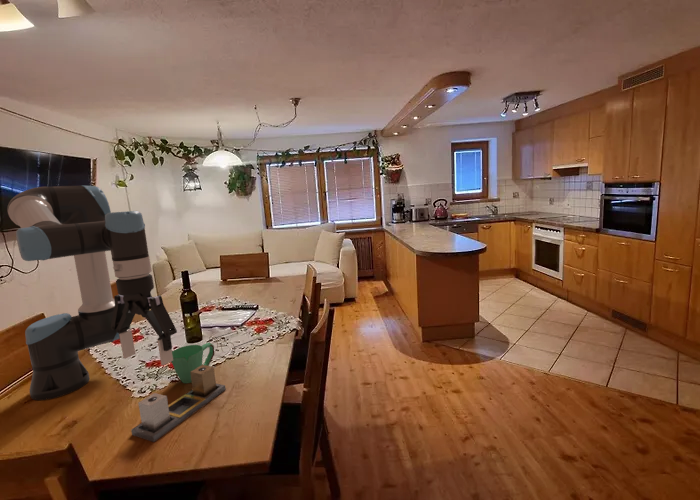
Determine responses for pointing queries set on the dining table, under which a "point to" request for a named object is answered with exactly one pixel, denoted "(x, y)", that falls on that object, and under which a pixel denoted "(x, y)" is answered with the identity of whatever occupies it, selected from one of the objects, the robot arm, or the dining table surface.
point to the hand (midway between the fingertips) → (147, 359)
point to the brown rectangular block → (203, 380)
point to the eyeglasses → (230, 342)
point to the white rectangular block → (154, 412)
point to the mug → (190, 359)
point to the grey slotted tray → (179, 413)
